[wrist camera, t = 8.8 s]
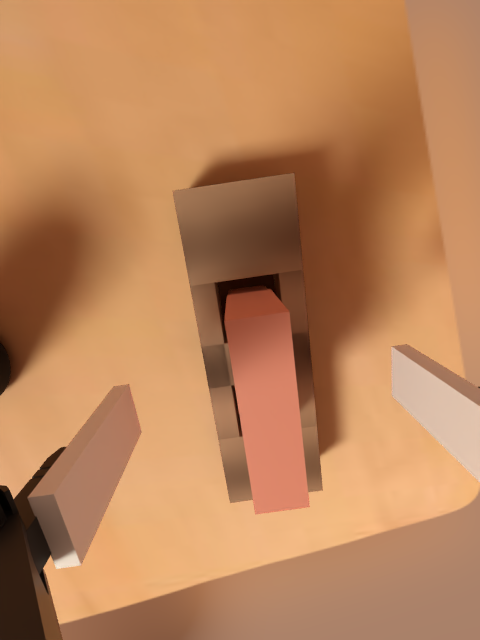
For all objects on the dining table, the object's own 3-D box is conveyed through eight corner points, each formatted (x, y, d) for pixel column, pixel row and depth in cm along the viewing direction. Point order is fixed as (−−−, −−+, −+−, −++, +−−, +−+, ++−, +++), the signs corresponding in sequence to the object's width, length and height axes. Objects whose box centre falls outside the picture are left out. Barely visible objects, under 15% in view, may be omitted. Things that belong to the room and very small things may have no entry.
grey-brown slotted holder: (181, 198, 20) (172, 190, 17) (285, 182, 20) (294, 172, 17) (230, 473, 26) (230, 502, 23) (312, 461, 26) (322, 490, 23)
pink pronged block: (227, 285, 22) (224, 320, 12) (263, 280, 22) (289, 311, 12) (245, 404, 24) (255, 514, 14) (278, 400, 24) (309, 506, 14)
